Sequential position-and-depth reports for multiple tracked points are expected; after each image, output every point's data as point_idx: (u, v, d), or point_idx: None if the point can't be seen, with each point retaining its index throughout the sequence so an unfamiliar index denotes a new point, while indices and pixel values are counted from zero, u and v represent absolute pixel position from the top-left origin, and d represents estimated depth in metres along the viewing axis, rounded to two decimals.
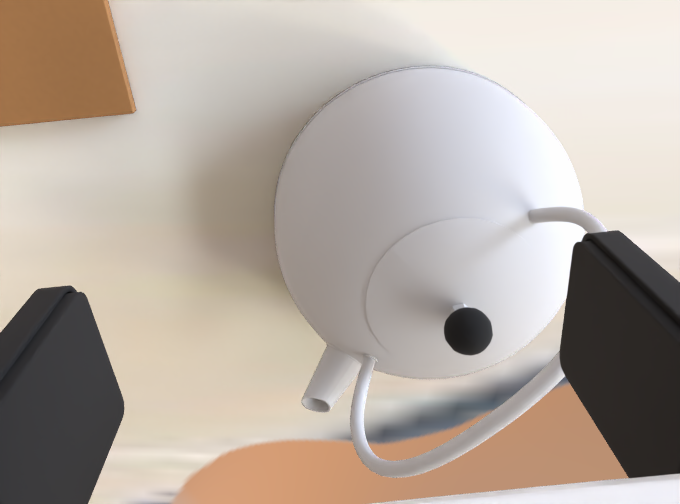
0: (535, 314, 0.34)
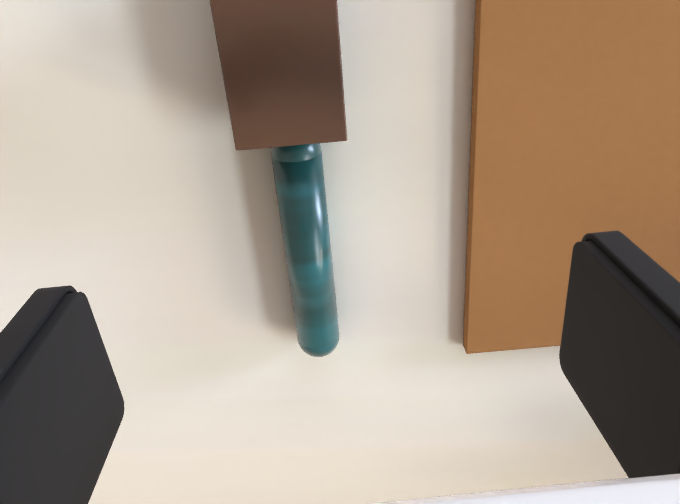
0: None
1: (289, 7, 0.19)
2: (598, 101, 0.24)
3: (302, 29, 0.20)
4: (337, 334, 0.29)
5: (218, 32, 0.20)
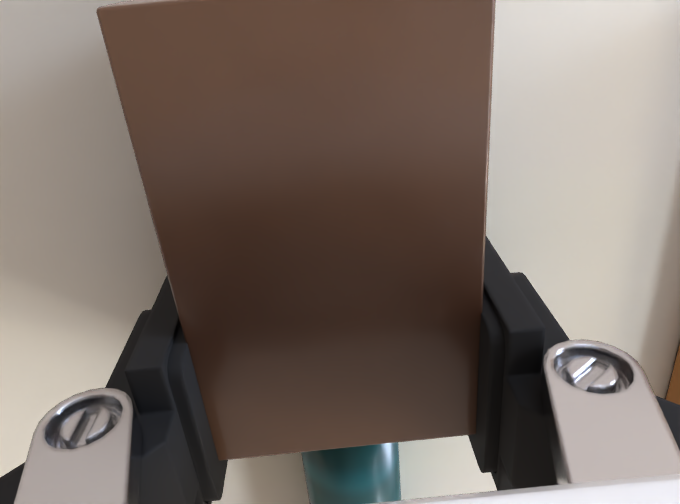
0: None
1: (358, 162, 0.07)
2: None
3: (390, 214, 0.07)
4: None
5: (162, 226, 0.07)
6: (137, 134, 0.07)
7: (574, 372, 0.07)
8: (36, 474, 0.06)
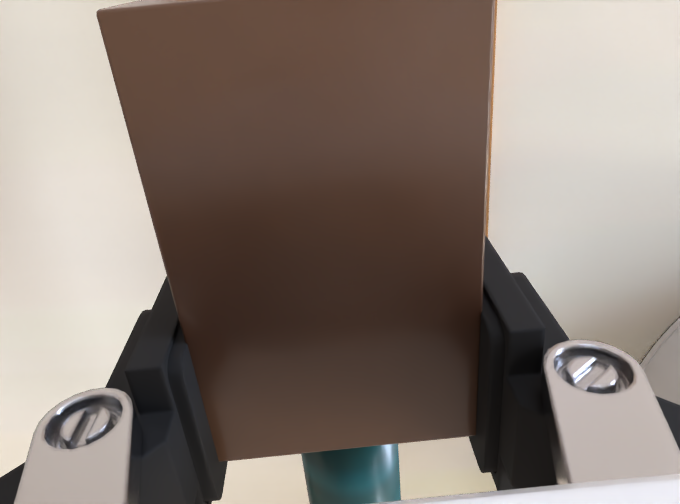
0: None
1: (358, 163, 0.07)
2: None
3: (389, 216, 0.07)
4: None
5: (162, 228, 0.07)
6: (137, 136, 0.07)
7: (574, 372, 0.07)
8: (36, 474, 0.06)
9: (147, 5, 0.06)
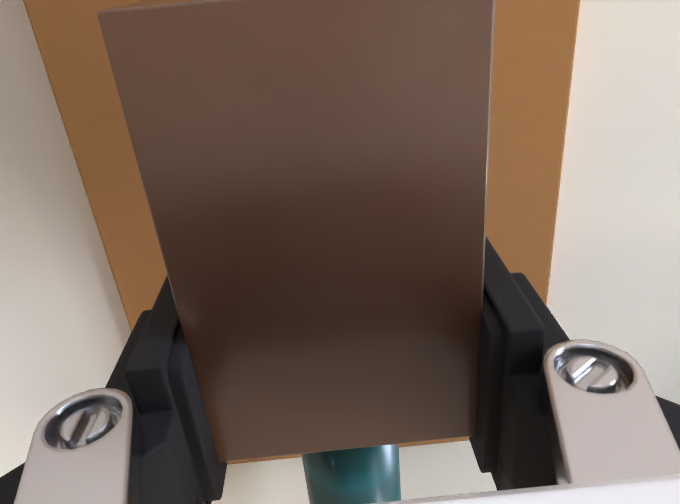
0: None
1: (359, 163, 0.07)
2: None
3: (390, 216, 0.07)
4: None
5: (162, 228, 0.07)
6: (138, 137, 0.07)
7: (574, 372, 0.07)
8: (36, 474, 0.06)
9: (148, 6, 0.06)
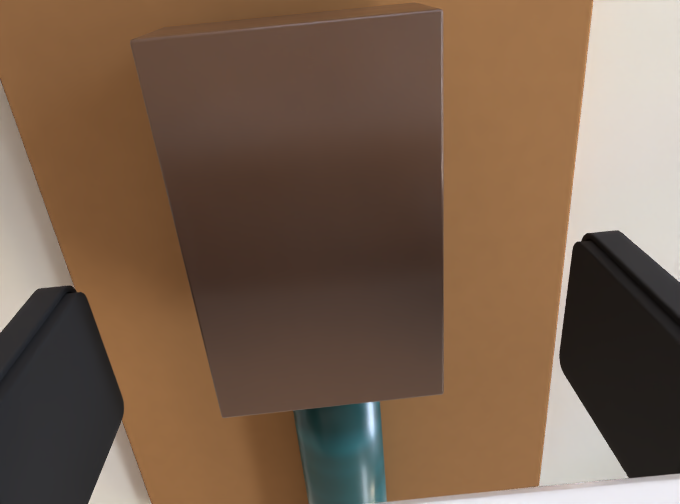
0: None
1: (338, 160, 0.09)
2: None
3: (364, 203, 0.09)
4: None
5: (178, 214, 0.09)
6: (160, 138, 0.08)
7: None
8: None
9: (170, 35, 0.08)
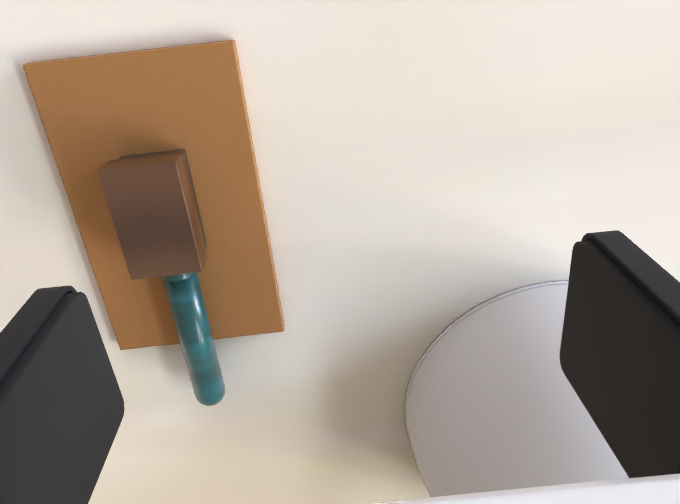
0: None
1: (155, 199, 0.31)
2: None
3: (164, 211, 0.32)
4: (222, 389, 0.40)
5: (112, 214, 0.32)
6: (106, 194, 0.31)
7: None
8: None
9: (107, 169, 0.31)
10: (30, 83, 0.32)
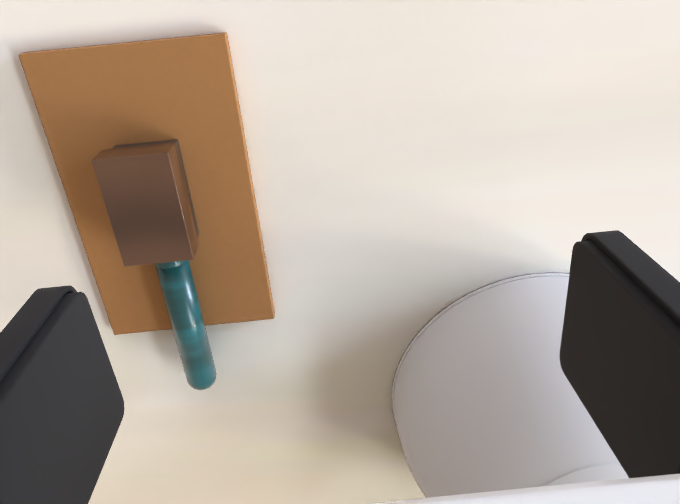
0: None
1: (147, 188, 0.32)
2: None
3: (157, 200, 0.33)
4: (213, 374, 0.41)
5: (106, 202, 0.33)
6: (100, 183, 0.32)
7: None
8: None
9: (101, 158, 0.31)
10: (26, 72, 0.32)
